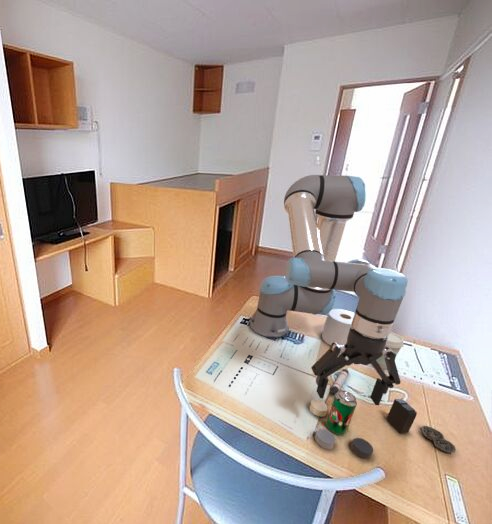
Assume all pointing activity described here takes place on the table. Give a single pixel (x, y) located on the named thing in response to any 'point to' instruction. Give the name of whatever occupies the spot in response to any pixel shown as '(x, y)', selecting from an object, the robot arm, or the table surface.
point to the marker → (339, 382)
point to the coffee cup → (391, 347)
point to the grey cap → (325, 438)
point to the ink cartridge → (401, 416)
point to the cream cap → (318, 408)
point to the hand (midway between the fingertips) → (346, 398)
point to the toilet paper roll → (337, 326)
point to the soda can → (341, 412)
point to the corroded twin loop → (438, 439)
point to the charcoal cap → (362, 448)
